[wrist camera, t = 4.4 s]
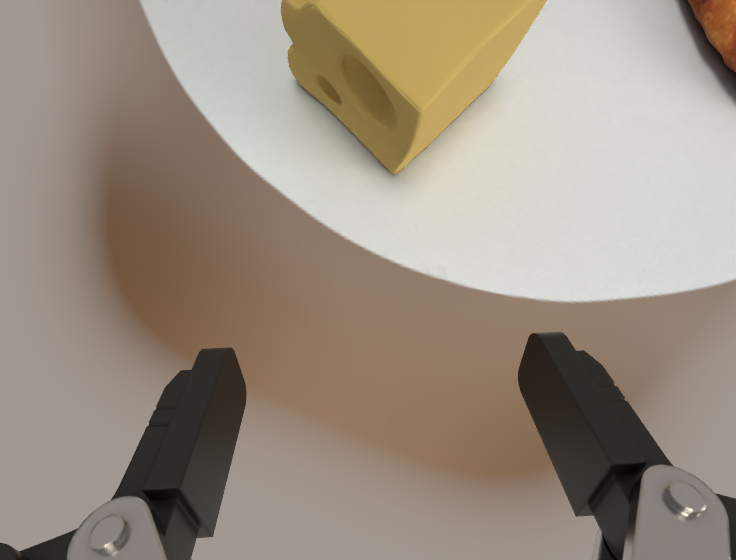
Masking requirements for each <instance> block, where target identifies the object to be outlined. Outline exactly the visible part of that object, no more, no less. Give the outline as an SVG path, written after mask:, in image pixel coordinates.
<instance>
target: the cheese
mask: <svg viewBox="0 0 736 560" xmlns="http://www.w3.org/2000/svg"><path fill="white" fill-rule="evenodd" d="M546 1H547V0H282V2H281V14H282V20H283V24H284V28H285V30H286V32H287V33H288V35H289V37H290V38H291V40H292V42H293V44H292V45H291V46H290V49H289V50H288V62H289V67H290V69H291V71H292V73H293V75H294V76H295V78H296V79H297V81H298V82H299V83H300V84H301V85H302V86H303V87H304V88H305V89H306V90H307V91H308V92H309V93H310V94H311V95H313V96H314V97H315V98H316V99H317V100H319V101H320V102H321V103H322V104H323V105H325V106H326V107H327V108H328V109H329V110H330V111H331V112H332V113H333V114H334V115H335V116H336V117H337V118H338V119H339V120H340V121H341V122H342V123H343V124H344V125H345V126H346V127H347V128H348V129H349V130H350V131H351V132H352V133H353V134H354V135H355V136H356V137H357V138H358V139H359V140H360V141H361V142H362V143H363V144H364V145H365V146H366V147H367V148H368V149H369V150H370V151H371V153H372V154H373V155H374V156H375V157H376V158H377V159H378V160H379V161H380V162H381V163H382V164H383V165H384V166H385V167H386V168H387V169H388V170H389V171H390V172H391V173H392V174H397V173H398V172H399V171H400V170H401V169H402V168H404V167H405V166H406V165H407V164H408V163H409V162H410V161H411V160H412V159H413V158H415V157H416V156H417V155H418V154H419V153H420V152H421V151H422V150H423V149H424V148H426V147H427V146H428V145H429V144H430V143H431V142H432V141H433V140H434V139H435V138H436V137H437V136H438V135H439V134H440V133H441V132H442V131H443V130H444V129H445V128H447V127H448V126H449V125H450V124H451V123H452V122H453V121H454V120H455V119H456V118H457V117H458V116H459V115H460V114H461V113H462V112H463V111H464V110H465V109H466V108H467V107H468V106H469V105H470V104H471V103H472V102H473V101H474V100H475V99H476V98H477V97H478V96H479V95H480V94H481V93H482V92H483V91H485V90H486V89H487V88H488V87H489V86H490V85H491V84H492V82H493V81H494V79H495V78H496V77H497V75H498V74H499V72H500V71H501V70H502V68H503V67H504V66H505V64H506V63H507V62H508V60H509V59H510V57H511V56H512V54H513V53H514V51H515V50H516V48H517V47H518V45H519V44H520V42H521V41H522V39H523V37H524V36H525V34H526V33H527V31H528V30H529V28H530V27H531V25H532V23H533V22H534V20H535V19H536V17H537V15H538V14H539V12H540V11H541V9H542V7H543V6H544V4H545V2H546Z"/></svg>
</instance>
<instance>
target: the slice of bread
mask: <svg viewBox="0 0 736 560" xmlns="http://www.w3.org/2000/svg"><path fill="white" fill-rule="evenodd" d="M687 1H688V2H689V4H690V5H691V7H692V10H693V13H694V15H695V18H696V19H697V20H698V22H699V23H700V24H701V25H702V27H703V29H704V31H705V34H706V37H707V39H708V41H709V43H710V44H712V45H713V46H714V47H715V48H716V49H717V51H718V52H719V53H720V54H721V55H722V58H723V61H724V64H725V65H726V66H727V67H728V68H730V69H732V70H734V71H735V72H736V0H687Z"/></svg>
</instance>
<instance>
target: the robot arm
mask: <svg viewBox="0 0 736 560" xmlns="http://www.w3.org/2000/svg"><path fill="white" fill-rule="evenodd" d="M518 382H519V387H520V391H521V393H522V396H523V398H524V400H525V402H526V405H527V407H528V409H529V412H530V414H531V416H532V418H533V421H534V423H535V425H536V427H537V429H538V432H539V434H540V436H541V439H542V441H543V443H544V445H545V447H546V450H547V452H548V454H549V457H550V459H551V461H552V464H553V466H554V468H555V470H556V473H557V475H558V477H559V479H560V482H561V484H562V486H563V488H564V491H565V493H566V495H567V497H568V500H569V502H570V504H571V506H572V509H573V511H574V513H575V516H591V515H594V517H595V519H596V521H597V523H598V526H599V529H598V531H597V534H596V539H595V544H594V550H593V555H592V560H736V499H735V498H731V497H727V496H723V495H720V494H716V493H714V492H713V491H712V489H710V488H709V487H708V486H707V485H706V484H705V483H704V482H703V481H701V480H700V479H699V478H697V477H696V476H694V475H693V474H691V473H689V472H687V471H685V470H683V469H680V468H678V467H674V466H673V465H672V464H671V463H670V461H669V460H668V459H667V458H666V456H665V455H664V453H663V452H662V450H661V449H660V447H659V446H658V445H657V443H656V442H655V440H654V439H653V437H652V436H651V435H650V433H649V432H648V430H647V429H646V427H645V426H644V424H643V423H642V422H641V420H640V419H639V417H638V416H637V415H636V413H635V412H634V410H633V409H632V407H631V406H630V404H629V403H628V402H627V401H625V399H624V398H625V397H624V396H623V394H622V393H621V392H620V390H619V389H618V387H617V386H615V385H614V381H613V380H612V378H611V377H610V376H609V374H608V373H607V371H606V370H605V369H604V367H603V366H602V365H601V364H600V363H599V362H598V361H596V360H595V359H594V358H593V357H591V356H590V355H589V354H588V353H586V352H585V351H584V350H583V351H575V349H574V347H573V346H572V344H571V342H570V341H569V339H568V338H567V336H566V335H565V334H564V333H562V332H546V333H532V334H531V335H530V336H529V338H528V341H527V344H526V348H525V351H524V354H523V357H522V360H521V363H520V367H519V370H518ZM245 405H246V385H245V381H244V378H243V375H242V372H241V369H240V366H239V363H238V361H237V358H236V355H235V352H234V350H233V349H232V348H214V349H202V350H201V351H200V352H199V354H198V356H197V358H196V361H195V363H194V366H193V368H192V370H181V371H180V372H179V373H178V374H177V375H176V376H175V377H174V379H172V381H171V382H170V383H169V384H168V385H167V386H166V387H165V389H164V391H163V393H162V395H161V398H160V400H159V402H158V404H157V406H156V407H157V409H156V410H155V411H154V412H153V415H152V417H151V419H150V421H149V426H147V427H146V430H145V432H144V434H143V436H142V438H141V440H140V442H139V445H138V447H137V449H136V451H135V453H134V455H133V458H132V460H131V462H130V464H129V466H128V468H127V470H126V473H125V475H124V477H123V479H122V481H121V483H120V485H119V488H118V489H117V491H116V493H115V495H114V496H113V498H112V499H111V500H110V501H108V502H107V503H105V504H103V505H102V506H100V507H99V508H97V509H96V510H95V511H93V512H92V513H91V514H90V515H89V516H88V517H87V518H86V519H85V520H84V521H83V523H82V524H81V525H80V526H79V528H77V529H76V530H73V531H71V532H69V533H66V534H64V535H61V536H59V537H56V538H54V539H51V540H48V541H46V542H43V543H40V544H38V545H35V546H33V547H30V548H28V549H25V550H22V551H20V552H19V551H17V550H16V549H14V548H13V547H11V546H9V545H7V544H3V543H0V560H192V559H191V556H192V552H193V549H194V545H195V541H196V538H204V537H213V534H214V530H215V526H216V522H217V518H218V514H219V510H220V506H221V502H222V498H223V494H224V490H225V485H226V481H227V478H228V474H229V469H230V465H231V462H232V458H233V454H234V449H235V445H236V441H237V437H238V433H239V429H240V425H241V421H242V417H243V413H244V409H245Z"/></svg>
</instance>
